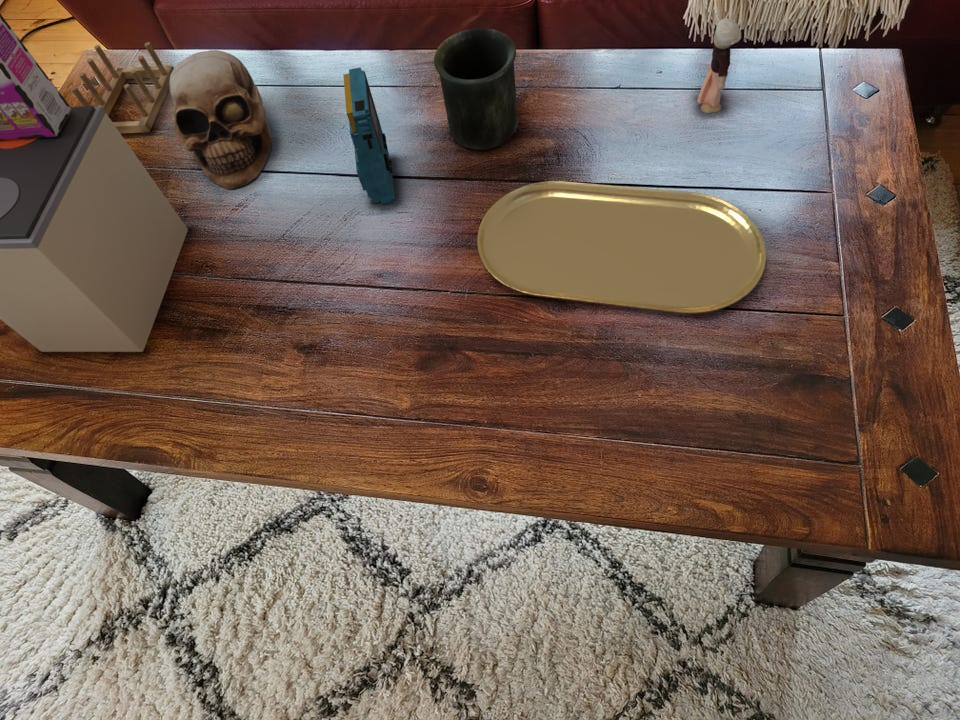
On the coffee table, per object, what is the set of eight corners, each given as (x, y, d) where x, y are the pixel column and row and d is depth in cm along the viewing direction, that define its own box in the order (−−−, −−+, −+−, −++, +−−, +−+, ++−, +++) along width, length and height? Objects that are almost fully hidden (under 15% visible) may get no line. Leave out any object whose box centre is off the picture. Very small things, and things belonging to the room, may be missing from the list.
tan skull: (235, 195, 98) (187, 114, 87) (167, 161, 106) (116, 83, 95) (312, 133, 104) (276, 49, 93) (243, 105, 112) (202, 26, 101)
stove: (41, 352, 87) (-99, 241, 69) (96, 231, 97) (-14, 107, 79) (143, 352, 85) (27, 238, 67) (188, 229, 96) (98, 101, 77)
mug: (442, 154, 98) (427, 82, 87) (455, 87, 105) (443, 13, 95) (517, 154, 96) (511, 81, 86) (526, 86, 103) (521, 10, 93)
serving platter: (761, 330, 77) (764, 322, 76) (463, 293, 85) (461, 286, 83) (764, 207, 86) (767, 198, 85) (495, 183, 94) (494, 175, 92)
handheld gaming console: (398, 204, 94) (371, 114, 81) (369, 210, 94) (337, 121, 81) (392, 155, 99) (366, 64, 86) (364, 160, 99) (334, 70, 86)
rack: (92, 134, 109) (64, 98, 103) (122, 75, 116) (98, 38, 110) (149, 132, 107) (125, 95, 101) (176, 72, 115) (154, 34, 109)
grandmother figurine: (690, 89, 99) (705, 6, 88) (717, 85, 99) (735, 1, 88) (702, 125, 95) (719, 42, 84) (730, 121, 95) (751, 38, 84)
